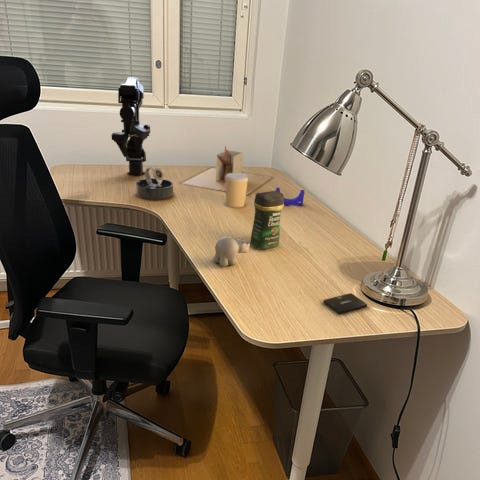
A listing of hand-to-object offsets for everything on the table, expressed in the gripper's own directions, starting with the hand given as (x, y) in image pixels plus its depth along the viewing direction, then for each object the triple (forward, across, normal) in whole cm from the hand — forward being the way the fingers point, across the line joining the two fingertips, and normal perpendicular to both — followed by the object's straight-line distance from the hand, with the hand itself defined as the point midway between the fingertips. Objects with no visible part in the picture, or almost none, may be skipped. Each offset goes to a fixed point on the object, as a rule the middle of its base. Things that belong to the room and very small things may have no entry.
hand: (132, 155), depth 205 cm
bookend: (+12, +32, -32) cm, 47 cm away
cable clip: (+12, +17, -70) cm, 73 cm away
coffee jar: (+12, -30, -81) cm, 87 cm away
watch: (+12, -9, -18) cm, 24 cm away
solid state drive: (+12, -54, -117) cm, 129 cm away
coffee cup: (+12, +2, -52) cm, 53 cm away
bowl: (+12, -9, -19) cm, 24 cm away
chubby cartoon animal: (+12, -48, -78) cm, 93 cm away
